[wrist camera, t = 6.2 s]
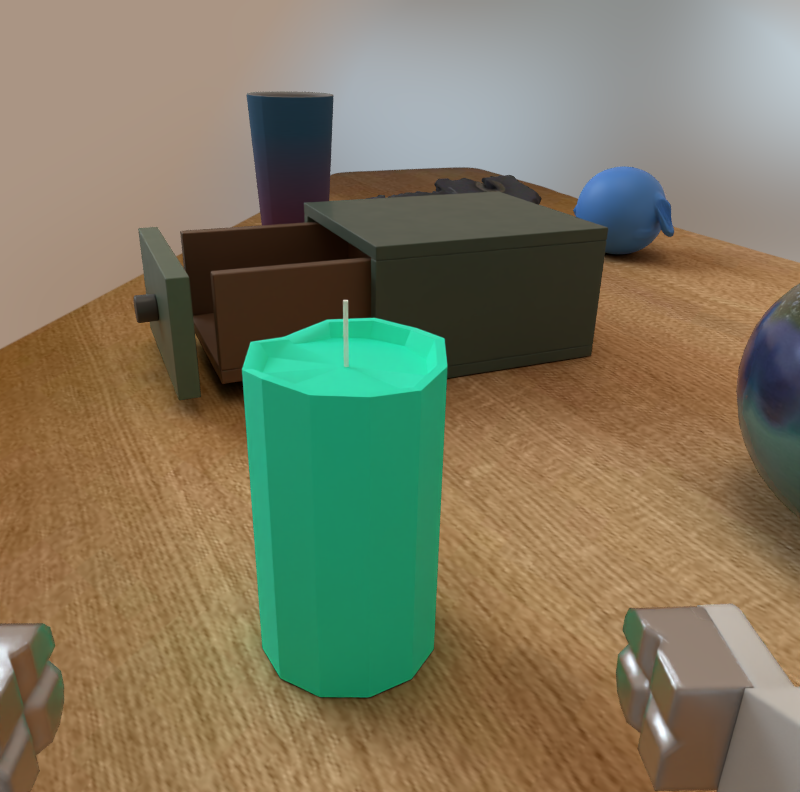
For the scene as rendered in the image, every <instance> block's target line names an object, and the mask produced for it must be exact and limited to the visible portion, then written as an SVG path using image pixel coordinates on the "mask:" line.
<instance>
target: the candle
mask: <svg viewBox="0 0 800 792" xmlns="http://www.w3.org/2000/svg"><path fill="white" fill-rule="evenodd" d="M242 378H243V392H244V405H245V419H246V433H247V446H248V460H249V473H250V487H251V501H252V514H253V528H254V541H255V555H256V569H257V582H258V596H259V609H260V623H261V637H262V648H263V650H264V652H265V653H266V655H267V657H268V658H269V660H270V662H271V663H272V665H273V667H274V669H275V670H276V672H277V674H278V675H279V677H280V678H281V679H283V680H285V681H287V682H289V683H291V684H294V685H296V686H298V687H300V688H302V689H304V690H306V691H308V692H310V693H312V694H314V695H316V696H319V697H372V696H374V695H376V694H378V693H381V692H383V691H385V690H388V689H390V688H392V687H395V686H397V685H399V684H401V683H404V682H406V681H408V680H411V679H412V678H413V677H414V675H415V674H416V673H417V671H418V670H419V669H420V667H421V666H422V664H423V663H424V662H425V660H426V659H427V658H428V656H429V655H430V654H431V652H432V651H433V650H434V634H435V613H436V593H437V572H438V551H439V531H440V510H441V489H442V469H443V448H444V427H445V407H446V386H447V357H446V348H445V339H444V338H442V337H440V336H437V335H434V334H431V333H429V332H426V331H423V330H421V329H418V328H415V327H410V326H406V325H402V324H398V323H394V322H390V321H386V320H382V319H378V318H354V319H348V300H343V319H327V320H325V321H322V322H320V323H317V324H315V325H312V326H310V327H307V328H304V329H302V330H299V331H297V332H294V333H292V334H289V335H287V336H284V337H280V338H273V339H266V340H259V341H252V342H250V345H249V349H248V352H247V355H246V358H245V361H244V365H243V368H242Z"/></svg>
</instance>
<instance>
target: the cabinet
mask: <svg viewBox="0 0 800 792" xmlns="http://www.w3.org/2000/svg"><path fill="white" fill-rule="evenodd" d="M304 214H305V215H304V218H305V223H306V222H318V223H319V224H321V225H322V226H324V227H325V228H327V229H328V230H330V231H331V232H333V233H335V234H336V235H338V236H339V237H341V238H342V239H344V240H345V241H347V242H348V243H350V244H351V245H353V246H354V247H356V248H358V249H359V250H361V251H362V252H364V253H365V254H367V255H368V256H370V257H371V318H378V319H382V320H386V321H390V322H394V323H398V324H402V325H406V326H410V327H415V328H418V329H421V330H423V331H426V332H429V333H431V334H434V335H437V336H440V337H442V338H444V339H445V348H446V357H447V378H452V377H458V376H464V375H471V374H477V373H483V372H490V371H496V370H502V369H509V368H515V367H522V366H528V365H534V364H541V363H547V362H553V361H560V360H566V359H572V358H579V357H585V356H591V353H592V344H593V338H594V330H595V323H596V316H597V308H598V301H599V293H600V286H601V278H602V271H603V263H604V256H605V248H606V240H607V234H608V227H605V226H602V225H599V224H596V223H593V222H590V221H587V220H584V219H581V218H578V217H574V216H571V215H568V214H565V213H562V212H559V211H556V210H553V209H550V208H547V207H544V206H541V205H538V204H535V203H532V202H529V201H526V200H523V199H520V198H517V197H514V196H511V195H508V194H505V193H502V192H498V191H497V192H480V193H463V194H445V195H428V196H410V197H393V198H376V199H358V200H341V201H323V202H306V203H304Z"/></svg>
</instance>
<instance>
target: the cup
mask: <svg viewBox="0 0 800 792" xmlns="http://www.w3.org/2000/svg"><path fill="white" fill-rule="evenodd" d="M247 102H248V110H249V119H250V127H251V136H252V145H253V153H254V162H255V170H256V179H257V188H258V196H259V204H260V213H261V222H262V225H276V224H291V223H305V218H304V215H305V214H304V203H306V202H323V201H329V190H330V165H331V141H332V117H333V115H332V114H333V95H332V94H327V93H313V92H253V93H247Z"/></svg>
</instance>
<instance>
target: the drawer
mask: <svg viewBox="0 0 800 792" xmlns="http://www.w3.org/2000/svg"><path fill="white" fill-rule="evenodd" d="M138 230H139V238H140V246H141V254H142V262H143V270H144V279H145V287H146V295H136V296H134V308H135V314H136V319H137V322H138V323H143V322H150V327H151V330H152V333H153V335H154V338H155V340H156V343H157V345H158V348H159V351H160V353H161V356H162V358H163V361H164V363H165V366H166V368H167V371H168V374H169V376H170V379H171V381H172V384H173V386H174V389H175V391H176V394H177V397H178V399H179V400H185V399H192V398H198V397H201V391H200V381H199V371H198V361H197V351H196V340H195V334H196V336H197V337H198V339H199V341H200V343H201V345H202V347H203V349H204V350H205V352H206V354H207V356H208V358H209V360H210V362H211V364H212V365H213V367H214V369H215V371H216V373H217V375H218V377H219V378H220V380H221V382H222V384H225V383H232V382H239V381H243V378H242V368H243V365H244V361H245V358H246V355H247V352H248V349H249V345H250V342H252V341H259V340H266V339H273V338H280V337H284V336H287V335H289V334H292V333H294V332H297V331H299V330H302V329H304V328H307V327H310V326H312V325H315V324H317V323H320V322H322V321H325V320H327V319H343V300H348V319H354V318H371V257H370V256H368V255H367V254H365V253H364V252H362V251H361V250H359V249H358V248H356V247H354V246H353V245H351V244H350V243H348V242H347V241H345V240H344V239H342V238H341V237H339V236H338V235H336V234H335V233H333V232H331V231H330V230H328V229H327V228H325V227H324V226H322V225H321V224H319V223H318V222H306V223H291V224H276V225H262V226H247V227H232V228H217V229H203V230H188V231H181V232H180V233H181V243H182V253H183V263H184V268H183V267H182V265H181V264H180V262H179V261H178V259H177V257H176V256H175V254H174V253H173V251H172V250H171V248H170V246H169V245H168V243H167V242H166V240H165V239H164V237H163V235H162V234H161V232H160V231H159V229H158V228H157V227H151V228H139V229H138Z"/></svg>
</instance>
